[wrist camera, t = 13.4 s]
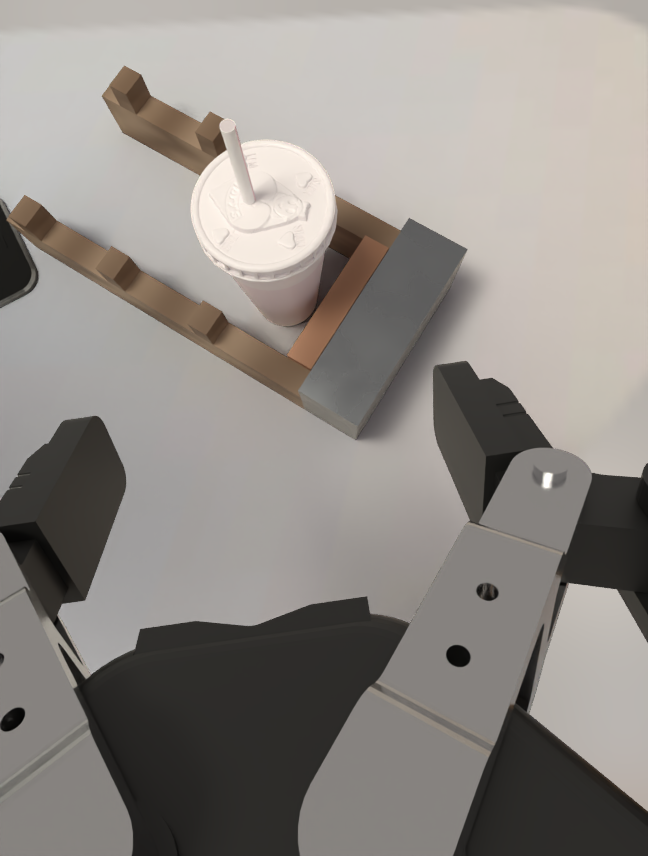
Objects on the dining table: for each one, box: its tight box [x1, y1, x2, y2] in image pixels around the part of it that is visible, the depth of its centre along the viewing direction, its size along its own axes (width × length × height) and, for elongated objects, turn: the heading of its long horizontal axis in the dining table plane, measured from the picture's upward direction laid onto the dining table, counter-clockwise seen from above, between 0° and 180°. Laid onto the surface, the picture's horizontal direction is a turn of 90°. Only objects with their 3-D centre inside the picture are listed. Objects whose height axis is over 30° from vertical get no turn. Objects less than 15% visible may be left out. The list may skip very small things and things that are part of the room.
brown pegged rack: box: [7, 66, 401, 409], centre depth 30 cm, size 22×11×4 cm, turn 58°
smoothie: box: [191, 119, 338, 326], centre depth 25 cm, size 6×6×14 cm
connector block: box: [298, 218, 467, 440], centre depth 29 cm, size 4×11×4 cm, turn 148°
